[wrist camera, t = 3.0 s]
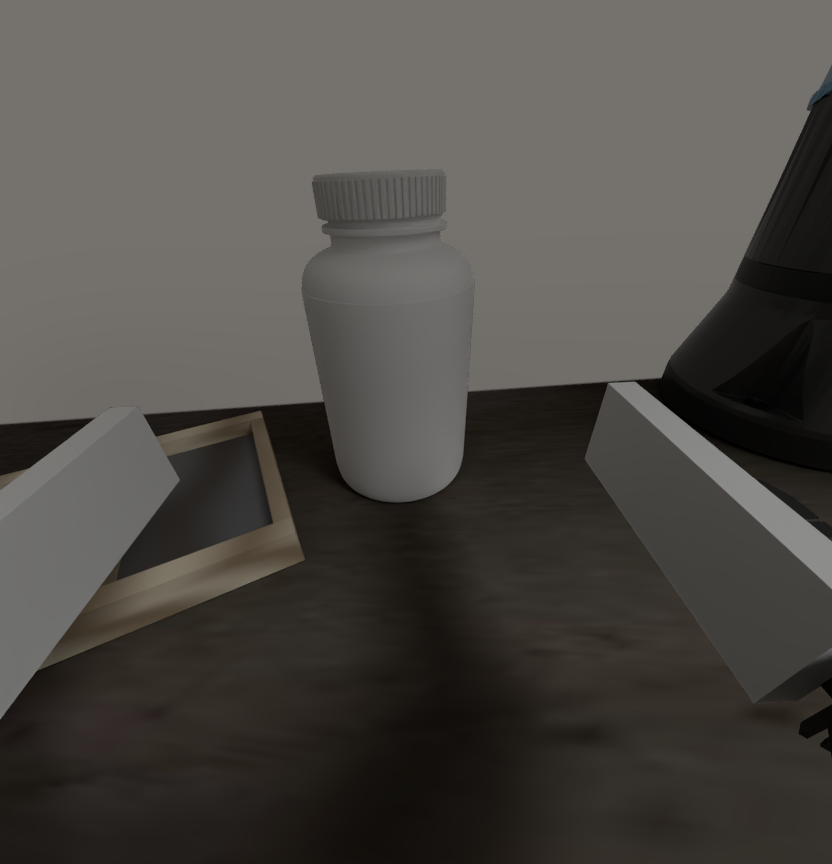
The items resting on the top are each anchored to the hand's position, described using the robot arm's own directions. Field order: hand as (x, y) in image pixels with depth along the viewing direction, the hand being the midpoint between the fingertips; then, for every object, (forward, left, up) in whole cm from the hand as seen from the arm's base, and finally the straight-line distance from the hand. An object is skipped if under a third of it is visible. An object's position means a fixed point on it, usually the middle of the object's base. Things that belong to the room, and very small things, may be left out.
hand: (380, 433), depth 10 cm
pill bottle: (+2, -9, -9) cm, 12 cm away
